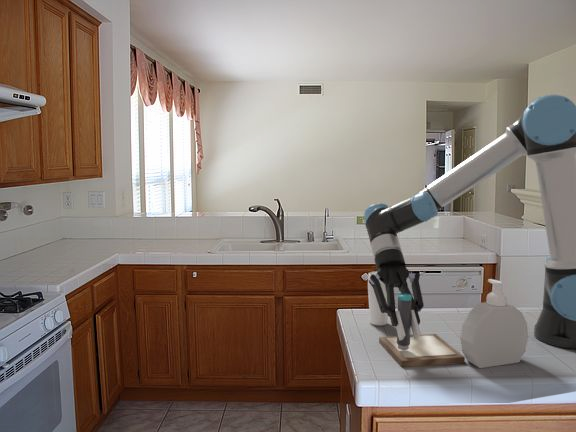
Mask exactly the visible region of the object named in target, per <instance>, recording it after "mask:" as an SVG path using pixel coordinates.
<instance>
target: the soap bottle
mask: <svg viewBox="0 0 576 432" xmlns="http://www.w3.org/2000/svg"><path fill="white" fill-rule="evenodd" d="M487 283H490V284H492V285H491V286H492V287H491V288H492V289H491V292H489V293H488V294H487V295H486V301H484V302H478V304H476V305H475V306H474V307H473V308H472V309H471V310H469V312H468V314H467V316H466V317H465V319H464V321H463V323H462V327H461V332H460V337H459V338H460V346H461V352H462V353H463V354H462V355H463V356H464V357H465V360H466V361H467V362H469V363H471V364H473V365H474V366H475V367H477V368H478V369H484V368H493V367H499V366H506V365H511V364H519V363H520V361H521V360H522V357H523V356H524V355H525V352H526V349H527V345H528V341H529V331H528V323H527V320H526V319H525V316H524V314H523V312H522V311H521V310H520V309H518V308H517V307H515V306H514V305H512V304H509V303H507V296H506V295H505V294H504V293H502V290H503V281H501V280H497V279H493V278H488V279H487Z"/></svg>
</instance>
